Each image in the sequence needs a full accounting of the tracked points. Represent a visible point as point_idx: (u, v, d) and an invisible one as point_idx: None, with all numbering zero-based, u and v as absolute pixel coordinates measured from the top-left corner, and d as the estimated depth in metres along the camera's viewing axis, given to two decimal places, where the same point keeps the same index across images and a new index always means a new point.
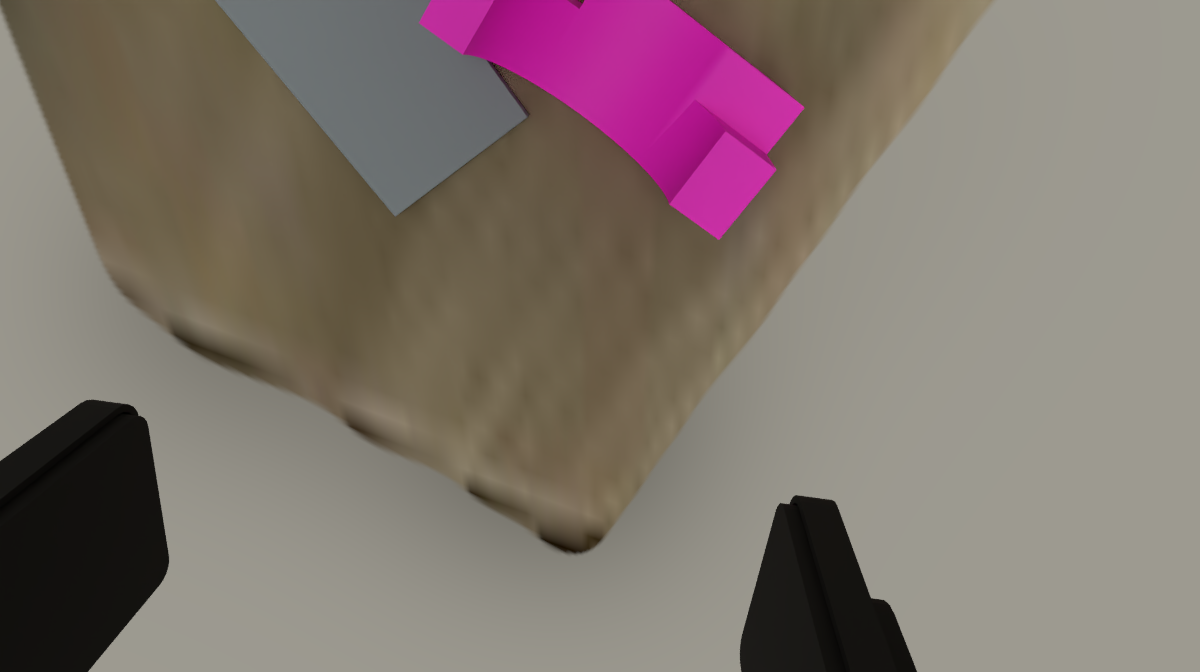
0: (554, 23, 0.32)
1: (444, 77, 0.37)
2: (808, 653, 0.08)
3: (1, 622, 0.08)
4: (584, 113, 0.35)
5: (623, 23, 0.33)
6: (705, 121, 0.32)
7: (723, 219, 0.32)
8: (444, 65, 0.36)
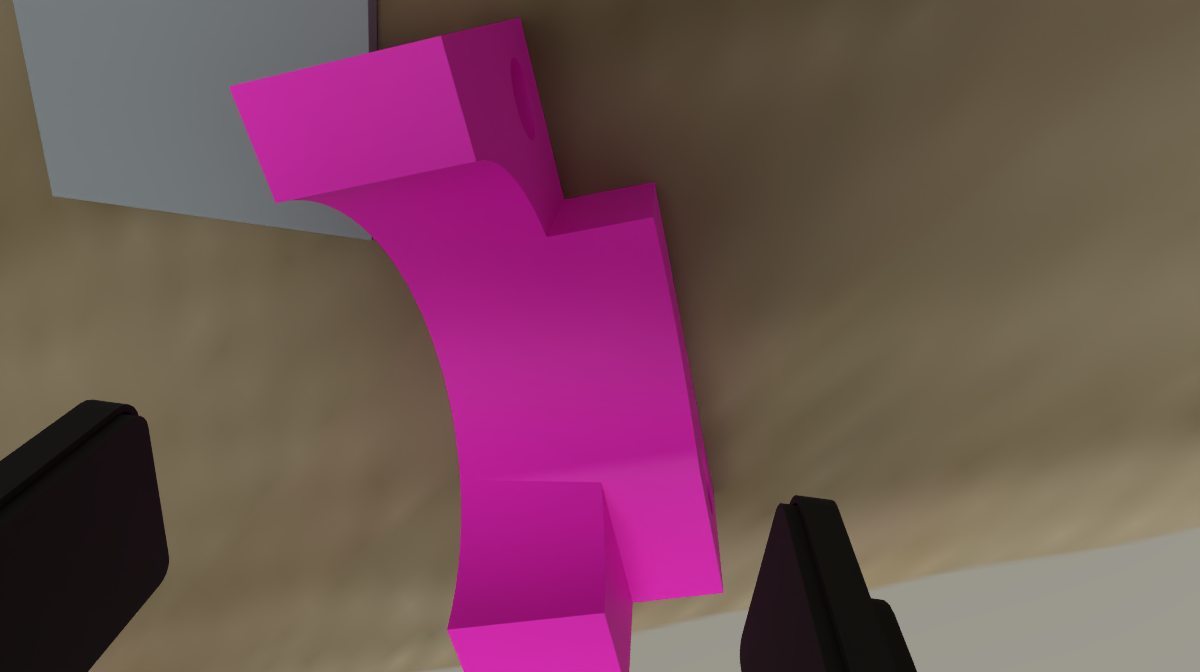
0: (492, 227, 0.17)
1: None
2: (808, 653, 0.08)
3: (1, 622, 0.08)
4: (441, 352, 0.20)
5: (591, 297, 0.19)
6: (591, 538, 0.18)
7: None
8: (297, 69, 0.19)
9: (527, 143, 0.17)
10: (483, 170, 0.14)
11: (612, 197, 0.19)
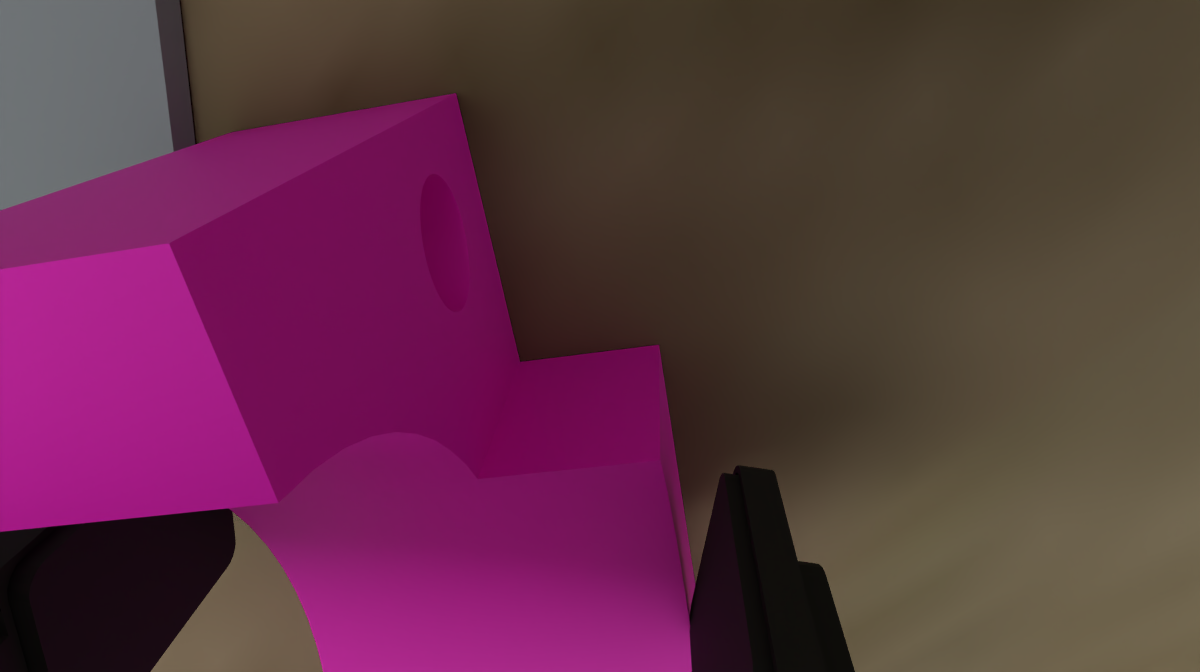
0: (381, 469, 0.10)
1: (39, 160, 0.12)
2: (735, 607, 0.09)
3: (101, 596, 0.09)
4: (313, 611, 0.12)
5: (552, 554, 0.11)
6: None
7: None
8: (56, 136, 0.12)
9: (448, 325, 0.10)
10: None
11: (592, 378, 0.12)
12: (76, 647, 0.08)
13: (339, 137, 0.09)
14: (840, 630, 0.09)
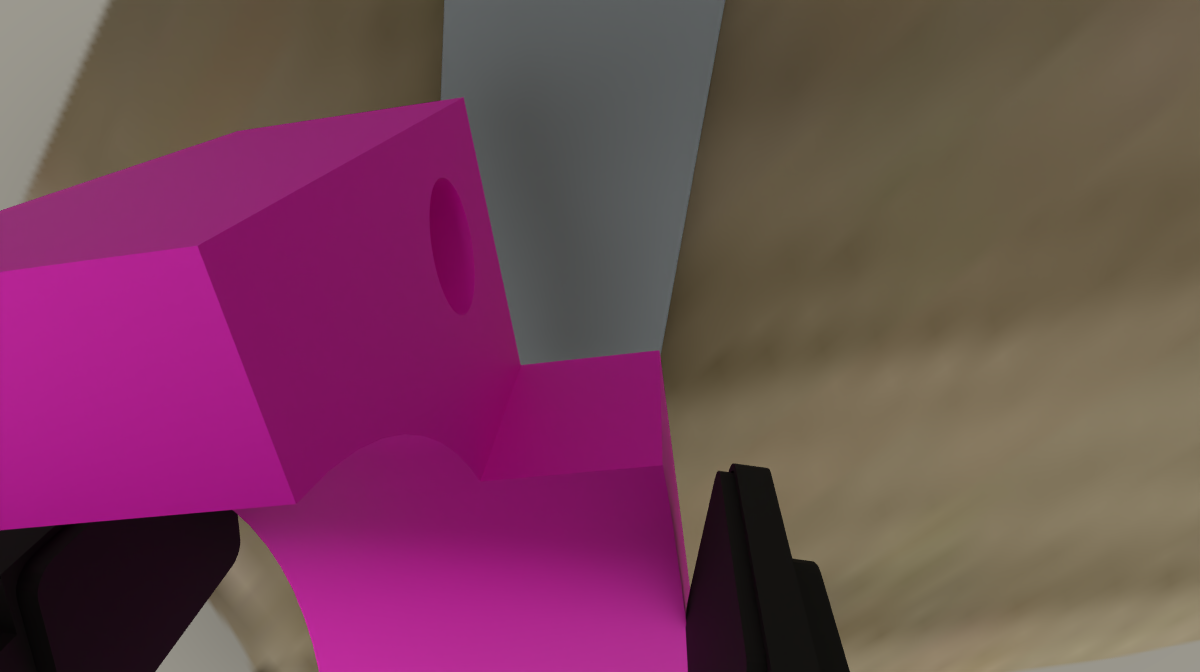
0: (385, 470, 0.10)
1: None
2: (730, 604, 0.09)
3: (108, 594, 0.09)
4: (310, 612, 0.12)
5: (551, 556, 0.11)
6: None
7: None
8: None
9: (454, 328, 0.10)
10: None
11: (593, 383, 0.12)
12: (83, 645, 0.08)
13: (351, 140, 0.09)
14: (834, 627, 0.09)
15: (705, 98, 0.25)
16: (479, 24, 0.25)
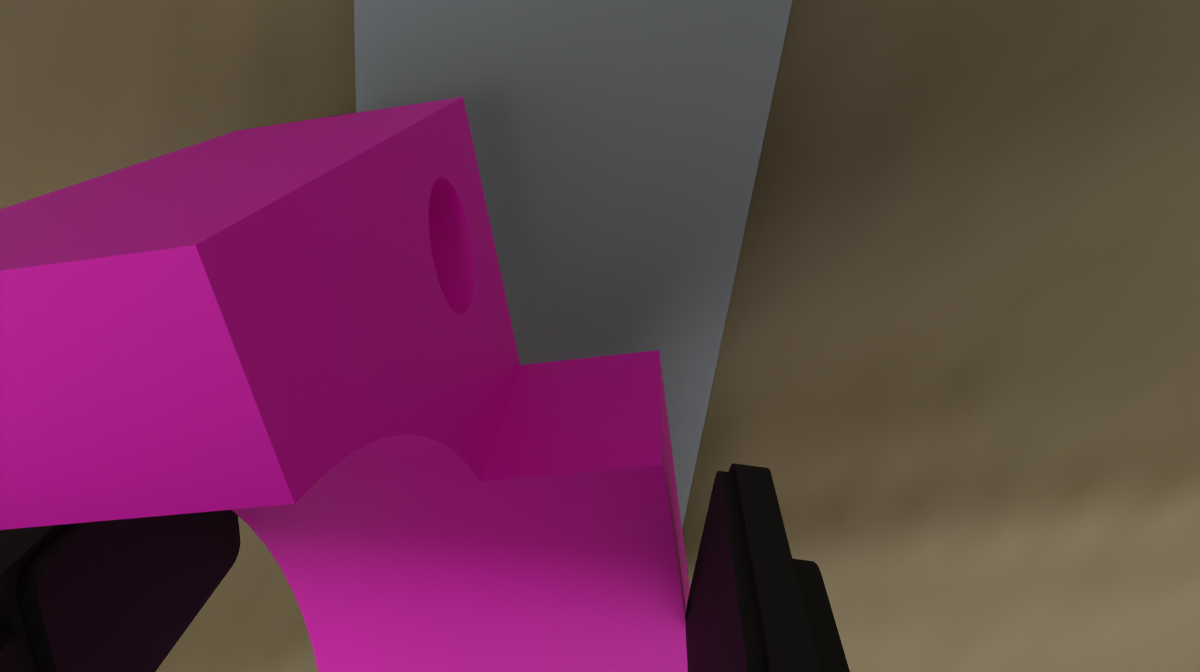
0: (386, 470, 0.10)
1: None
2: (730, 604, 0.09)
3: (108, 594, 0.09)
4: (310, 612, 0.12)
5: (551, 557, 0.11)
6: None
7: None
8: None
9: (453, 328, 0.10)
10: None
11: (593, 383, 0.12)
12: (84, 645, 0.08)
13: (350, 139, 0.09)
14: (834, 627, 0.09)
15: (755, 166, 0.17)
16: (409, 57, 0.16)
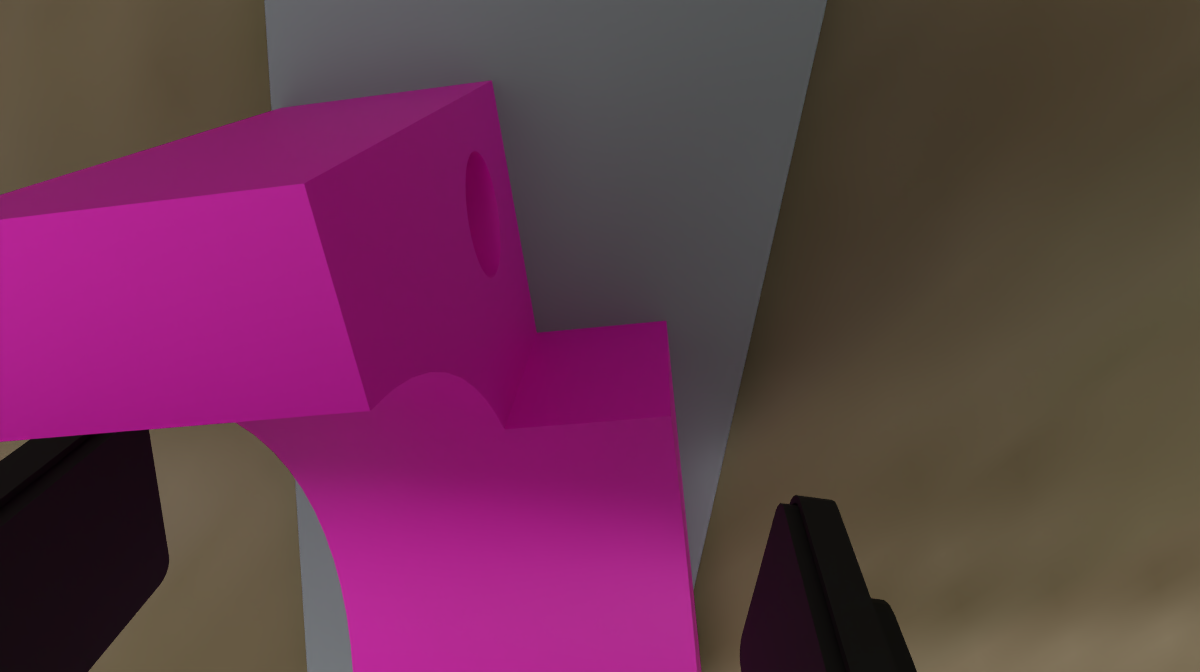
0: (420, 415, 0.11)
1: None
2: (808, 653, 0.08)
3: (1, 622, 0.08)
4: (339, 554, 0.13)
5: (565, 504, 0.12)
6: None
7: None
8: None
9: (484, 288, 0.11)
10: None
11: (606, 348, 0.13)
12: None
13: (399, 112, 0.10)
14: None
15: (775, 212, 0.13)
16: (338, 76, 0.13)
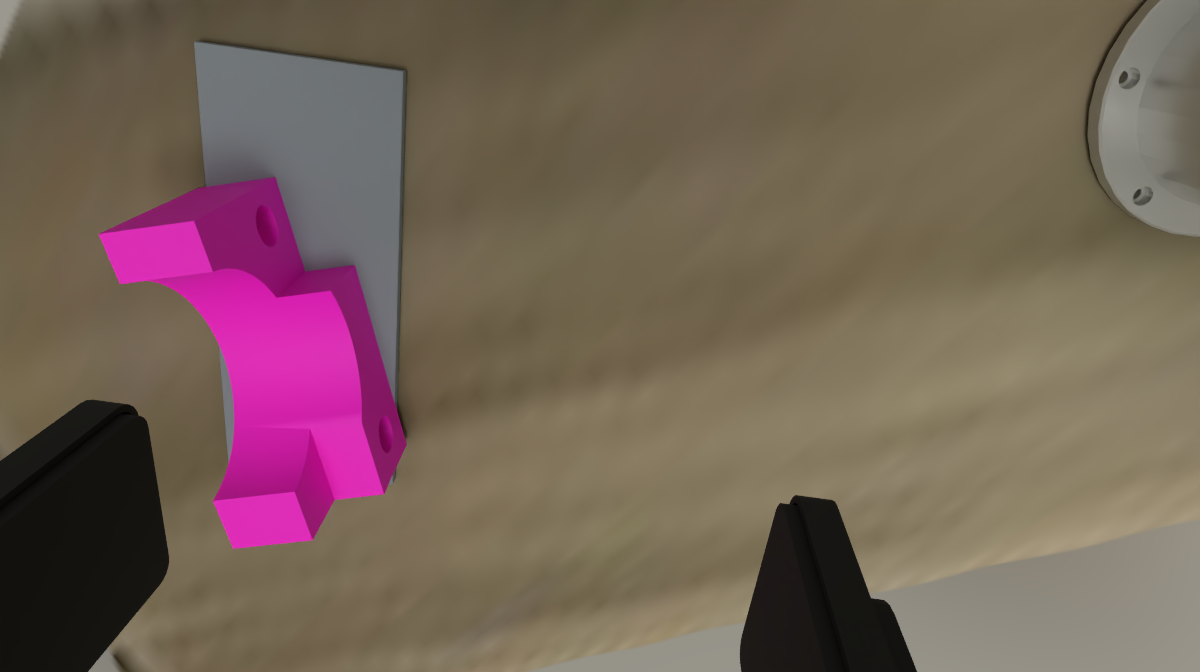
0: (245, 292, 0.33)
1: None
2: (808, 653, 0.08)
3: (1, 622, 0.08)
4: (226, 355, 0.35)
5: (306, 329, 0.35)
6: (298, 457, 0.34)
7: (247, 539, 0.34)
8: None
9: (265, 250, 0.33)
10: (227, 270, 0.30)
11: (326, 274, 0.36)
12: None
13: (231, 195, 0.32)
14: None
15: (398, 219, 0.35)
16: (230, 169, 0.35)
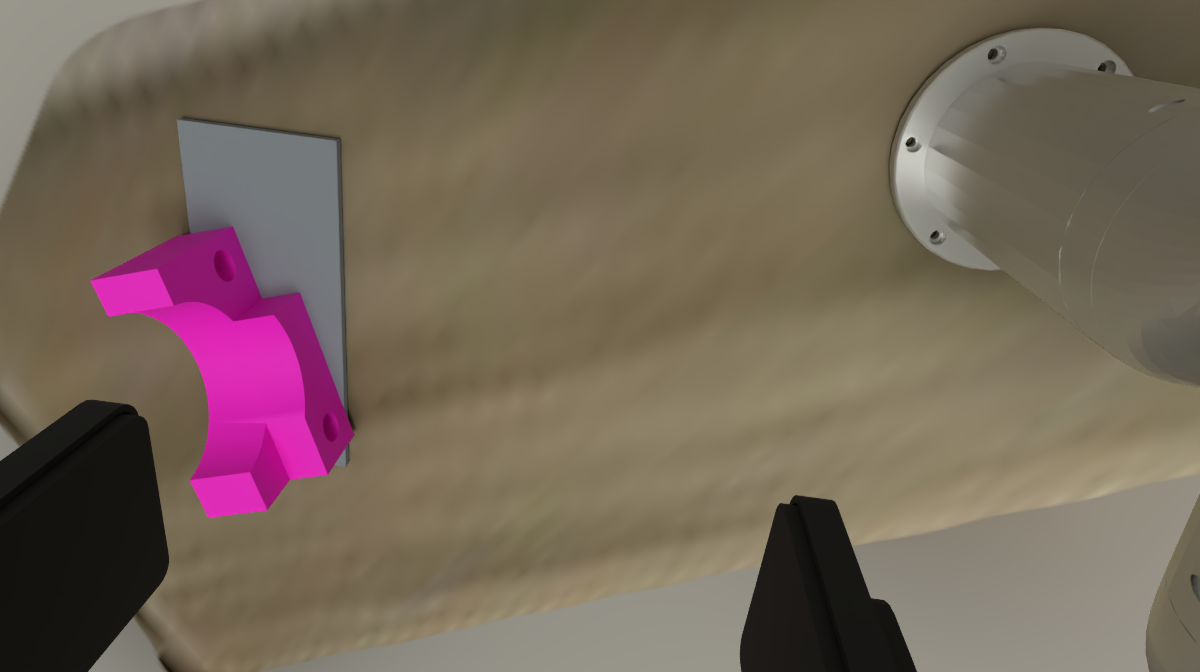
0: (208, 318, 0.42)
1: None
2: (808, 653, 0.08)
3: (1, 622, 0.08)
4: (201, 366, 0.45)
5: (259, 345, 0.44)
6: (256, 445, 0.44)
7: (218, 510, 0.44)
8: None
9: (223, 284, 0.42)
10: (188, 303, 0.40)
11: (276, 301, 0.45)
12: None
13: (193, 244, 0.41)
14: None
15: (338, 254, 0.45)
16: (207, 216, 0.44)
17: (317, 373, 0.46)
